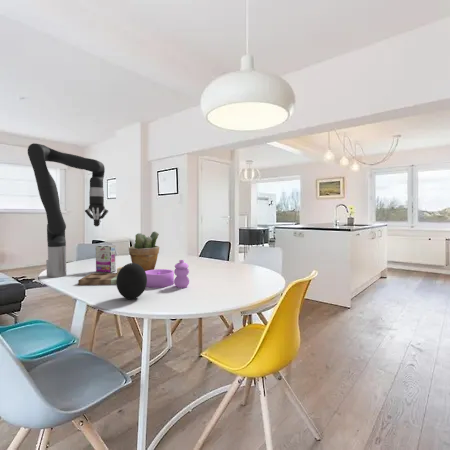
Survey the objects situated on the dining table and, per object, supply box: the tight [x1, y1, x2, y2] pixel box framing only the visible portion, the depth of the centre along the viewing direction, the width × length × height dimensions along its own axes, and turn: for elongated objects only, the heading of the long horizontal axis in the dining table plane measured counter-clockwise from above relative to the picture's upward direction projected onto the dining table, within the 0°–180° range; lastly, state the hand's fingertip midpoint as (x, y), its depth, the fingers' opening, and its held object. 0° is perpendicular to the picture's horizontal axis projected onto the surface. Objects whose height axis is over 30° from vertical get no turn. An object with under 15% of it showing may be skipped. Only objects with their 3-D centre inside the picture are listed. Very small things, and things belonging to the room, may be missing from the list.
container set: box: [145, 259, 190, 289], centre depth 153 cm, size 25×15×13 cm, turn 67°
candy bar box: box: [95, 244, 117, 273], centre depth 188 cm, size 11×5×16 cm, turn 73°
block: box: [116, 266, 123, 275], centre depth 163 cm, size 5×5×4 cm
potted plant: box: [128, 231, 160, 271], centre depth 187 cm, size 18×19×25 cm
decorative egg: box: [115, 262, 147, 300], centre depth 128 cm, size 12×12×15 cm
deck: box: [77, 272, 117, 286], centre depth 162 cm, size 24×18×5 cm
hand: (96, 226), depth 172 cm, fingers closed
